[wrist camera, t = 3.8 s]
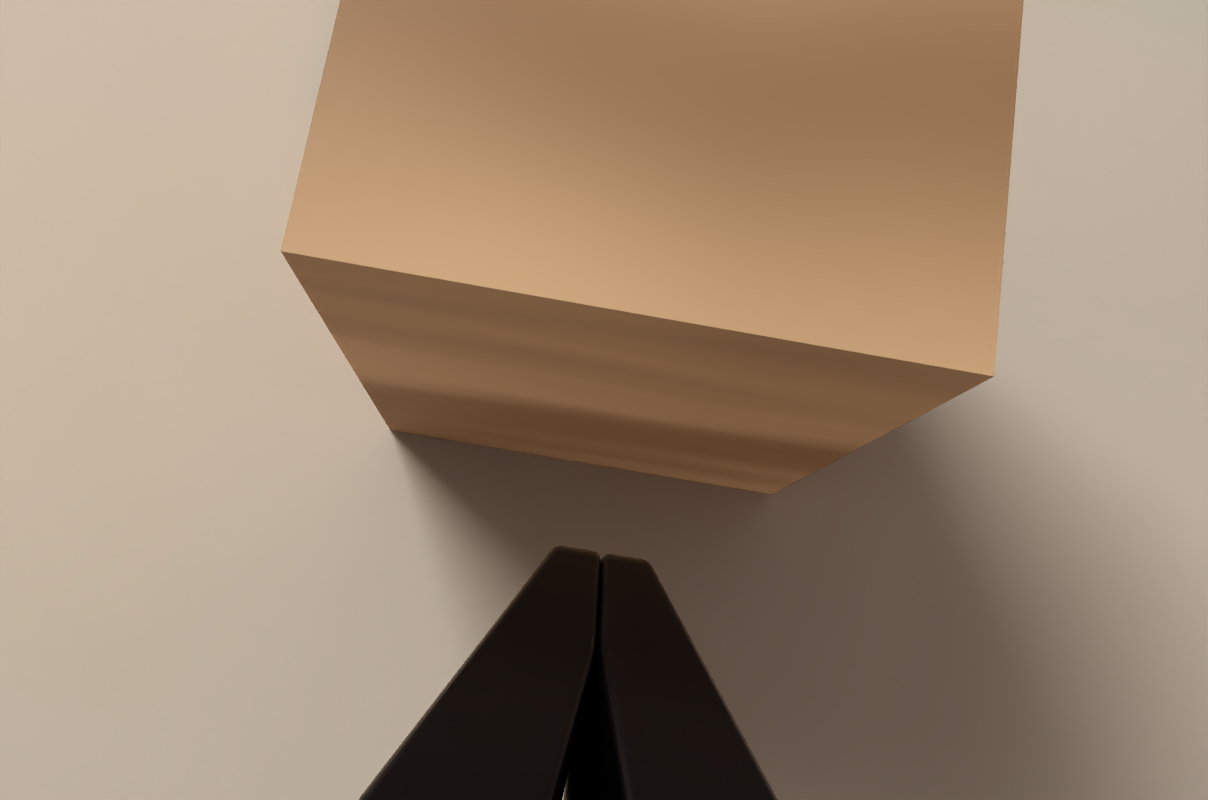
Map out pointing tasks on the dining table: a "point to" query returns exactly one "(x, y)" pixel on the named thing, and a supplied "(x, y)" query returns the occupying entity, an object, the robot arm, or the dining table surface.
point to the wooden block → (661, 222)
